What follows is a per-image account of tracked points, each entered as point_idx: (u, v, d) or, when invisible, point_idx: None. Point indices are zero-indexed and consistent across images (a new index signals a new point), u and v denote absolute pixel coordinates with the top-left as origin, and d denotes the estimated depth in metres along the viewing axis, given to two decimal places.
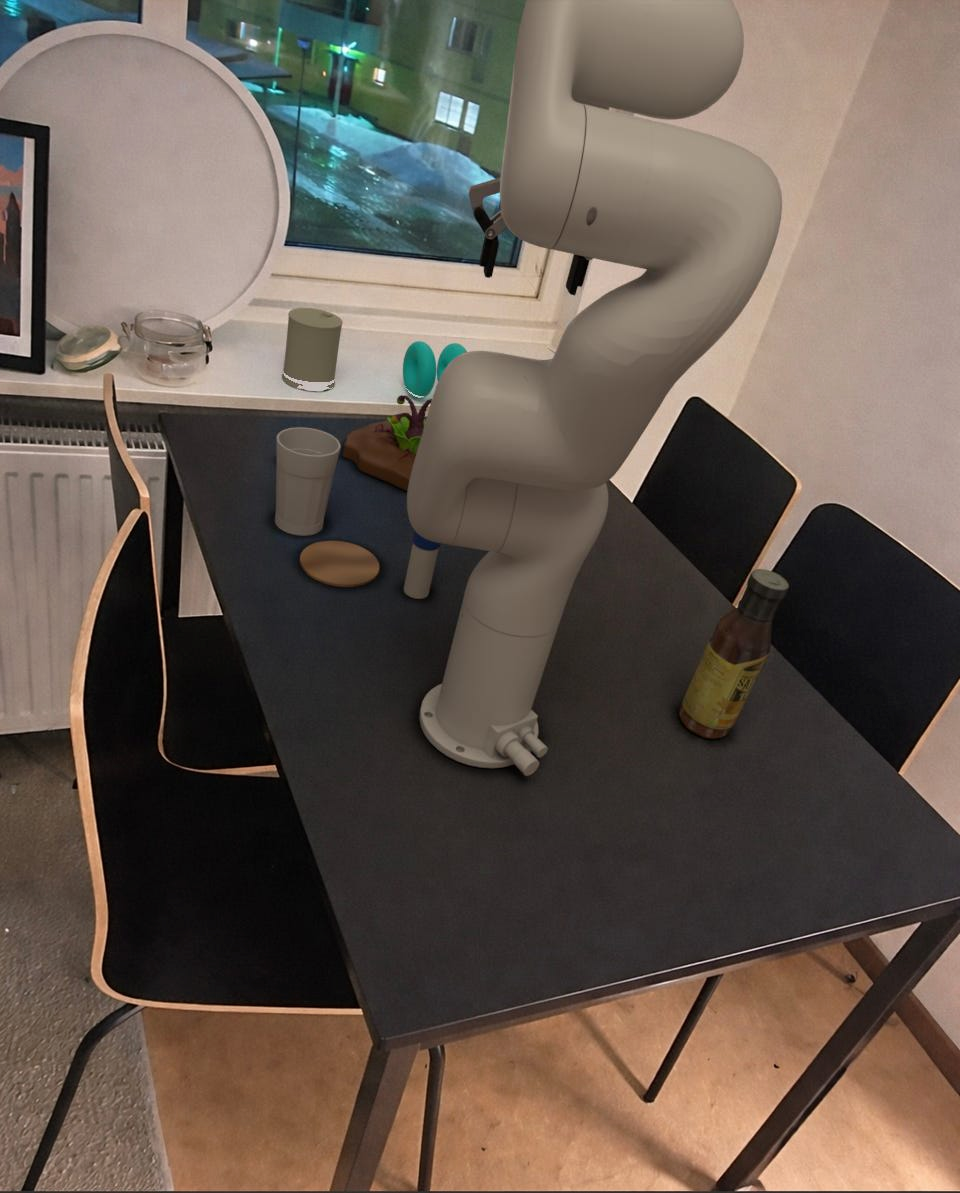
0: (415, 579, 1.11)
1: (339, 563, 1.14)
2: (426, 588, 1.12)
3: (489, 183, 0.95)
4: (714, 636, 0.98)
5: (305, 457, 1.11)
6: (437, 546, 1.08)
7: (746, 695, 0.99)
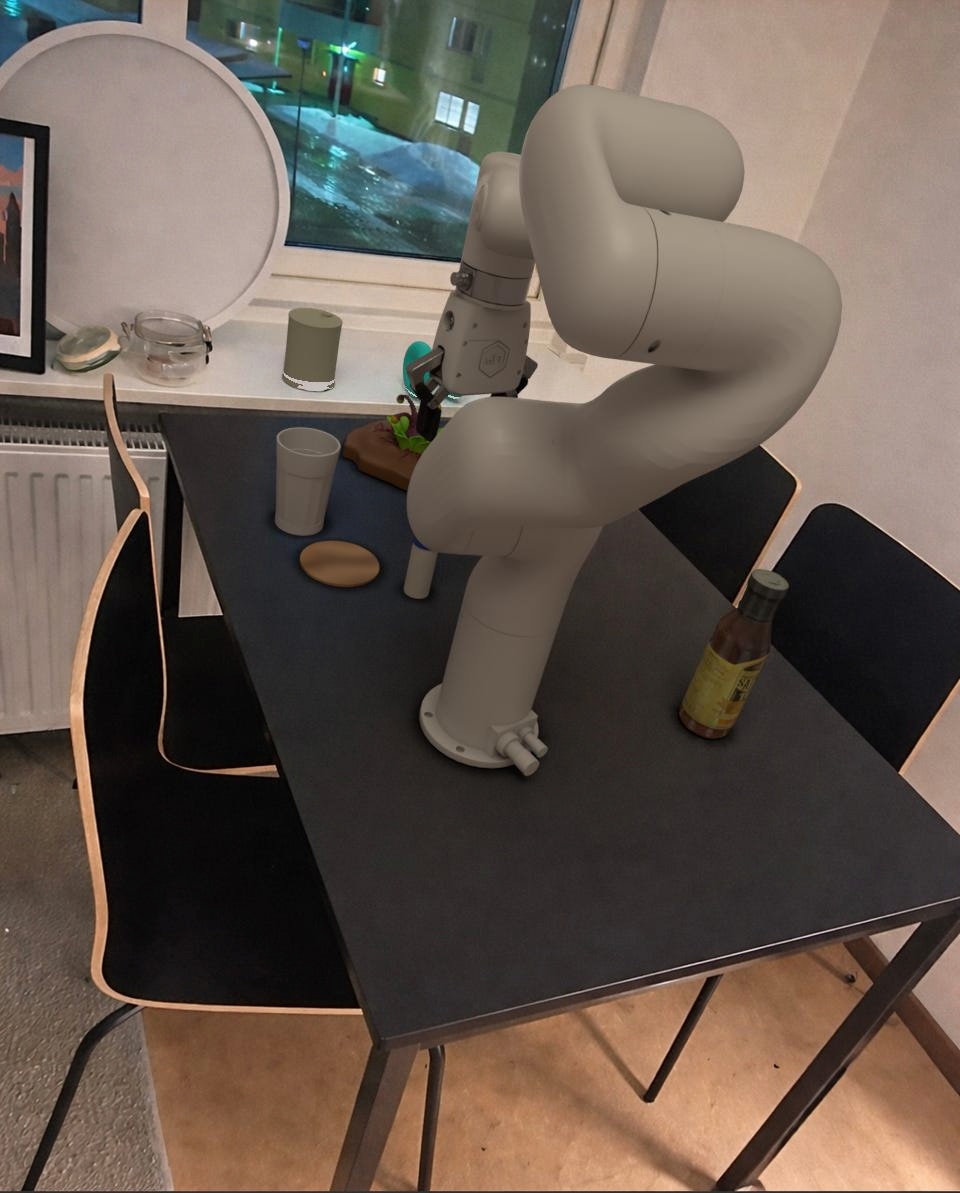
0: (415, 579, 1.11)
1: (339, 563, 1.14)
2: (426, 588, 1.12)
3: (429, 360, 0.95)
4: (714, 636, 0.98)
5: (305, 457, 1.11)
6: None
7: (746, 695, 0.99)
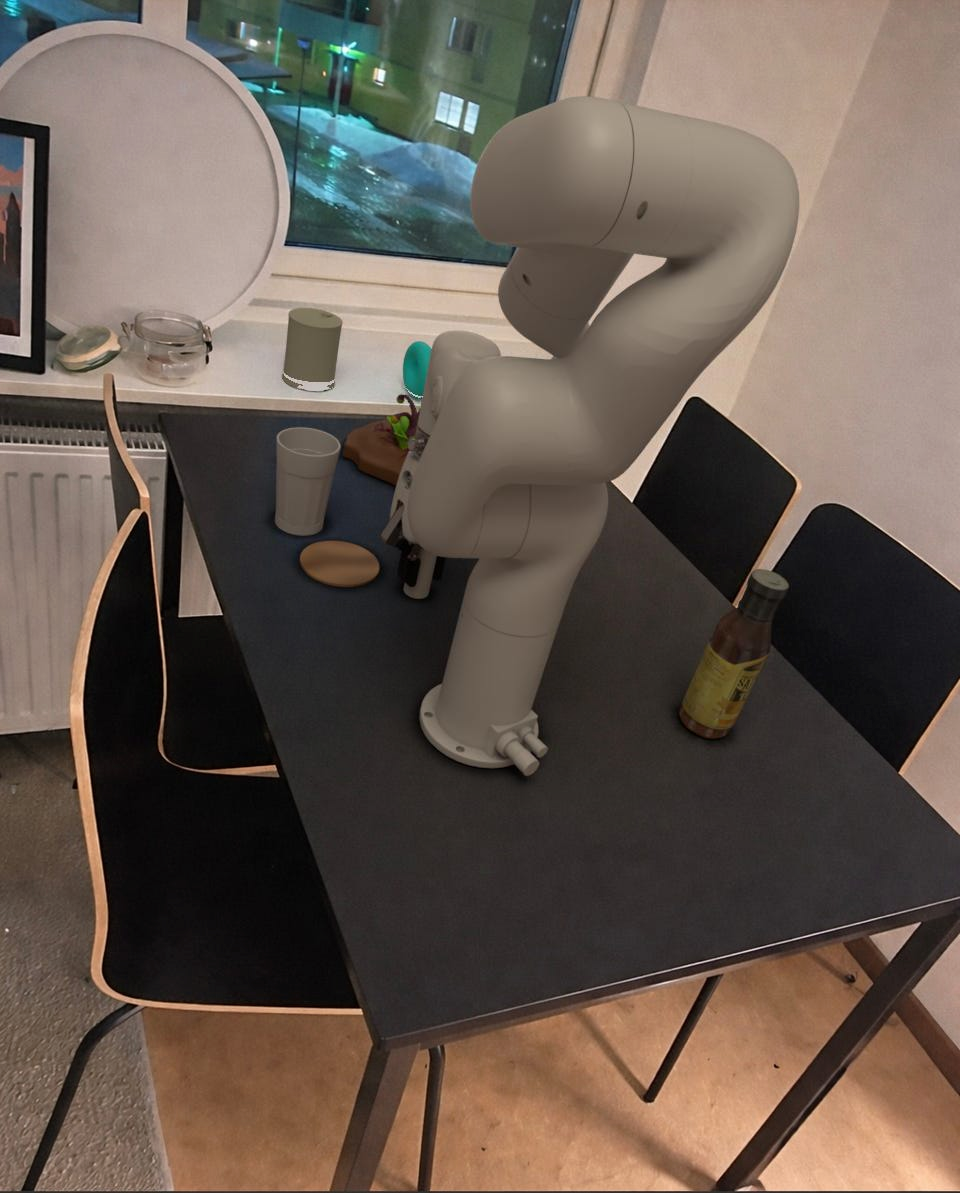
0: None
1: (339, 563, 1.14)
2: (426, 588, 1.12)
3: (395, 525, 1.04)
4: (714, 636, 0.98)
5: (305, 457, 1.11)
6: None
7: (746, 695, 0.99)
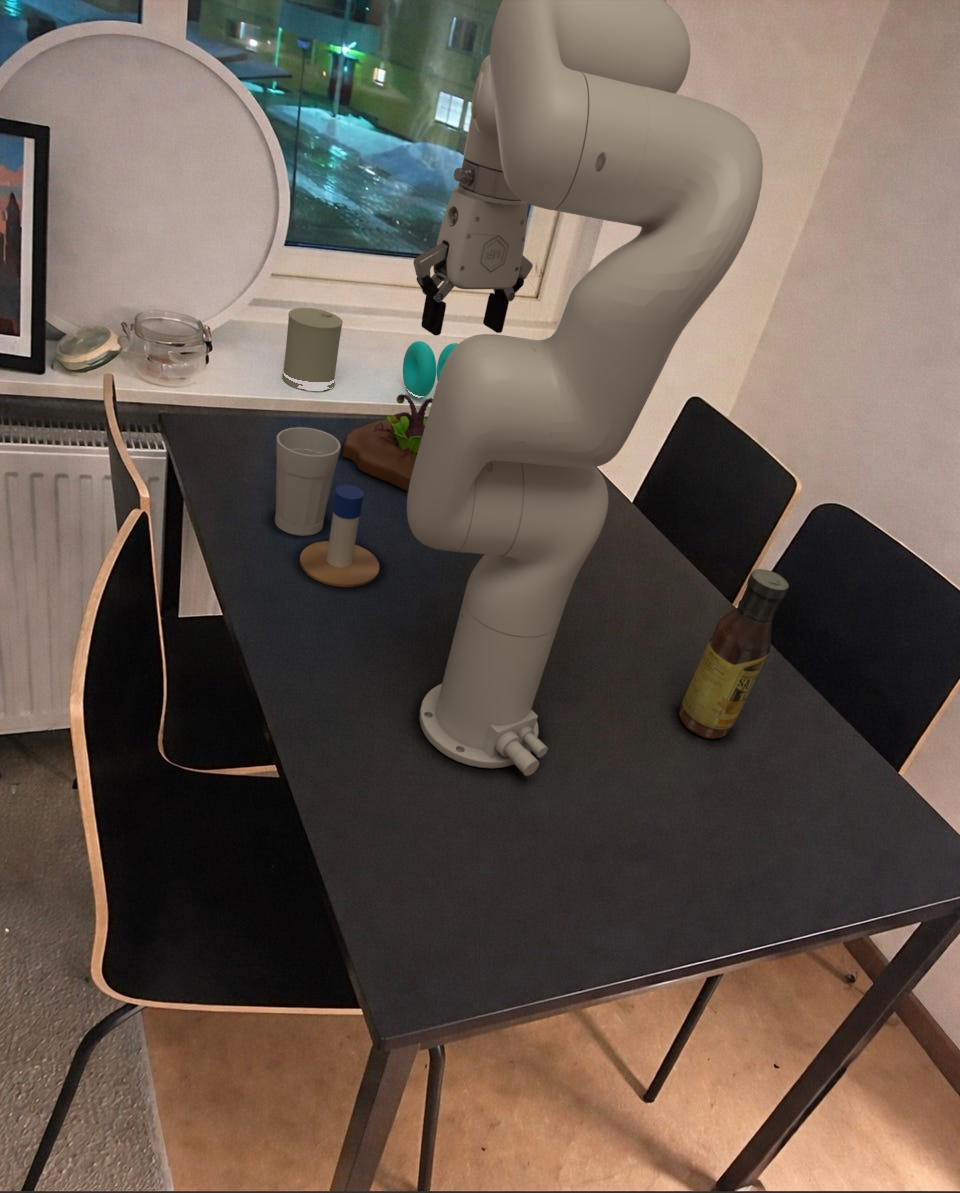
0: (336, 548, 1.12)
1: None
2: (349, 557, 1.13)
3: (435, 253, 1.02)
4: (714, 636, 0.98)
5: (305, 457, 1.11)
6: (357, 515, 1.10)
7: (746, 695, 0.99)
